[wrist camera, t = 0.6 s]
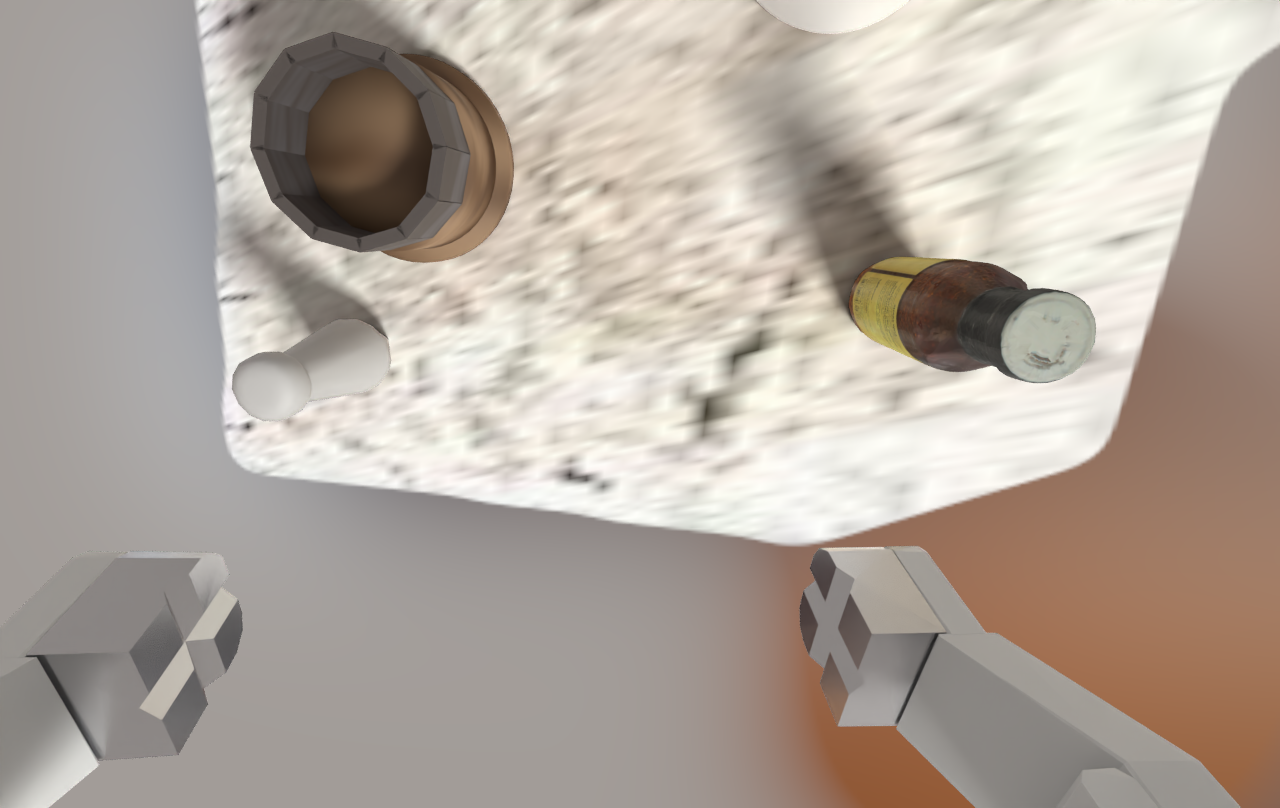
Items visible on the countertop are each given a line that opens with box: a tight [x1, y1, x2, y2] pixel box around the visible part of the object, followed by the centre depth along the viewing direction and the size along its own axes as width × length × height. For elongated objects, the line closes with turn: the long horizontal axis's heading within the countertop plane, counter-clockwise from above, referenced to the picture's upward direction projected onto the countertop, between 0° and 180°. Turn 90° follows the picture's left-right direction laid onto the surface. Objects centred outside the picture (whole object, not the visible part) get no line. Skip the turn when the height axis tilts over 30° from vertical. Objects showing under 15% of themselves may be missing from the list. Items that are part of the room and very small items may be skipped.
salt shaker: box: [232, 319, 391, 421], centre depth 43 cm, size 6×6×13 cm
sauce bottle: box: [849, 257, 1096, 383], centre depth 35 cm, size 7×6×20 cm
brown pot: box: [250, 32, 514, 263], centre depth 40 cm, size 14×14×10 cm
